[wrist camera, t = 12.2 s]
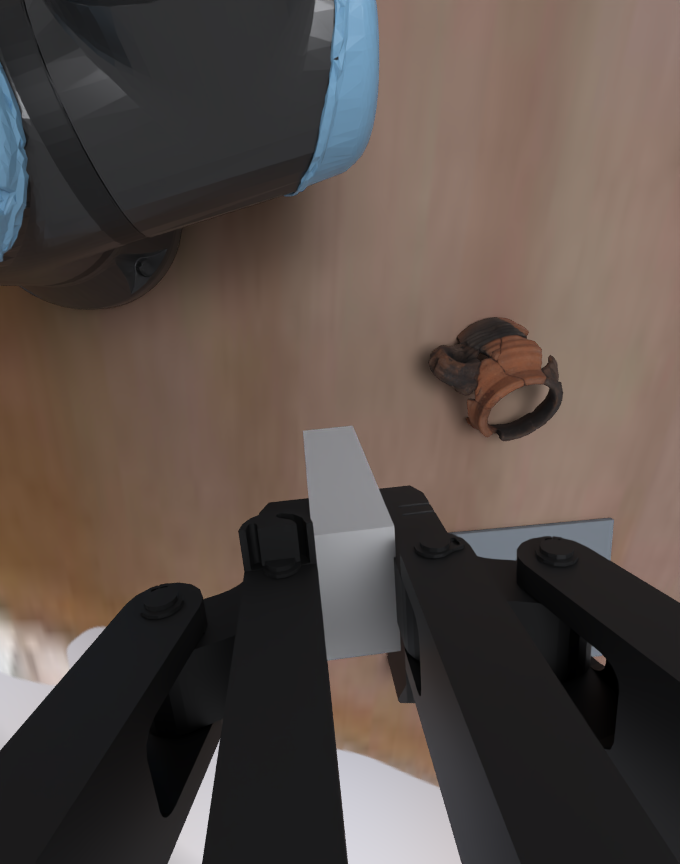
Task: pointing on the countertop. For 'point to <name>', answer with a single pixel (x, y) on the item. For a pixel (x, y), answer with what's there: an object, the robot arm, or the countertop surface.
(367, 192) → the countertop surface
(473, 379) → the pottery mug
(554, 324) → the countertop surface
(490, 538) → the slate mat
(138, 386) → the countertop surface
